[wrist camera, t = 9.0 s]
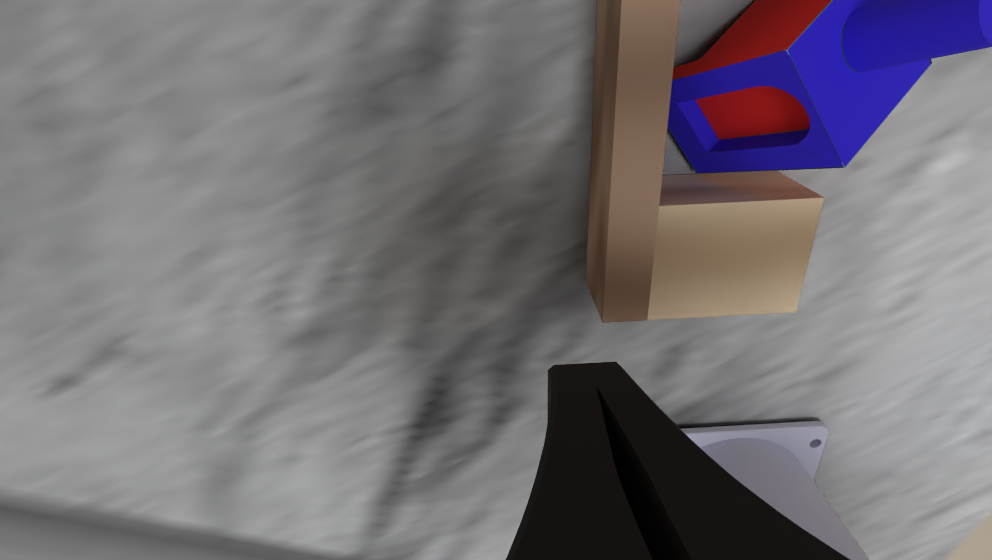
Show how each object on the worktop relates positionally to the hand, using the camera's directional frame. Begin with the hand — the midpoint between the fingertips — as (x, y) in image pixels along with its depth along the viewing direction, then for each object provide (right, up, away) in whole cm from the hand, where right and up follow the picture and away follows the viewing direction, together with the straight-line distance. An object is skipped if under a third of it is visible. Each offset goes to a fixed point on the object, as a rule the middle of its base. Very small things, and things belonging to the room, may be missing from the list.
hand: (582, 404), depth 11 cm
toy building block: (+6, +9, +7) cm, 13 cm away
